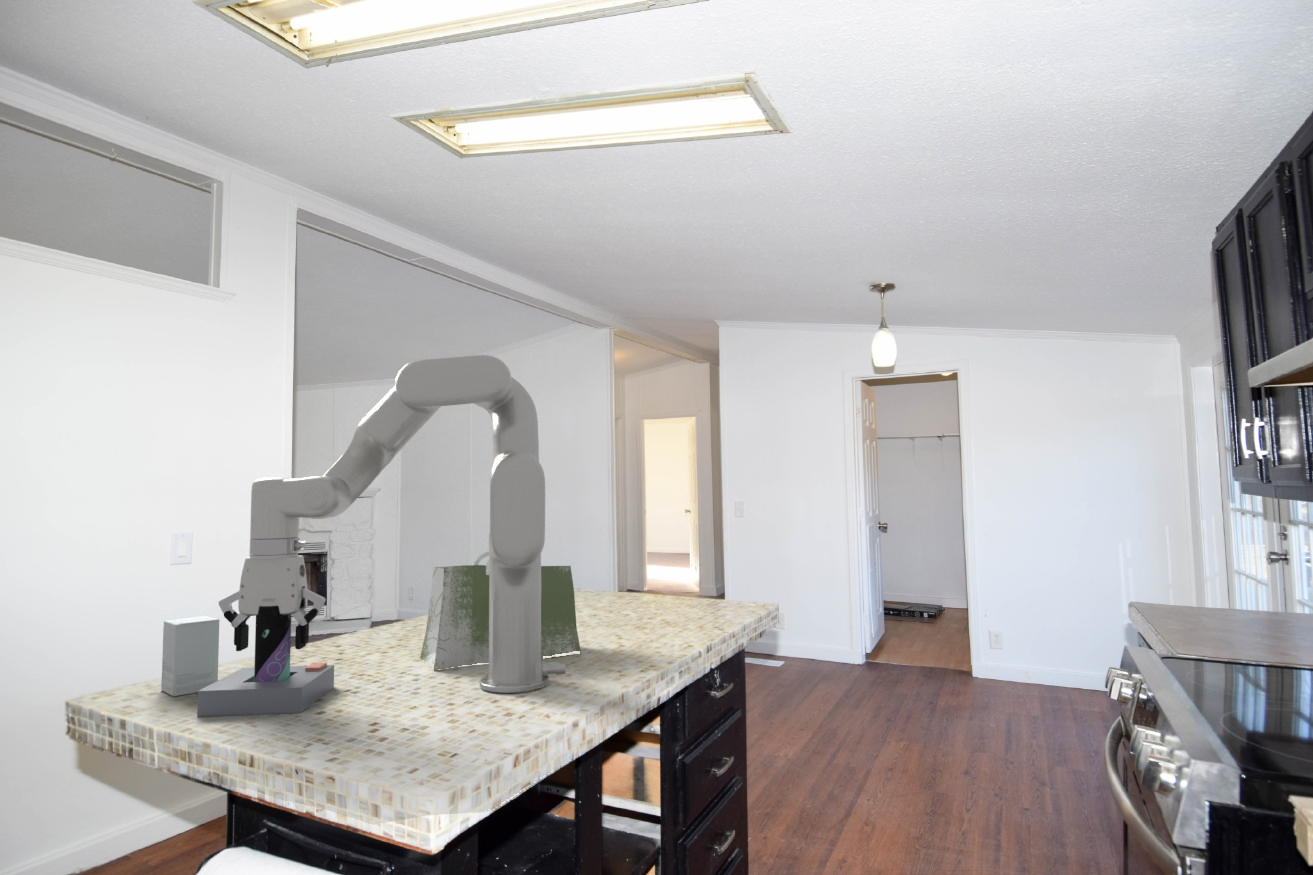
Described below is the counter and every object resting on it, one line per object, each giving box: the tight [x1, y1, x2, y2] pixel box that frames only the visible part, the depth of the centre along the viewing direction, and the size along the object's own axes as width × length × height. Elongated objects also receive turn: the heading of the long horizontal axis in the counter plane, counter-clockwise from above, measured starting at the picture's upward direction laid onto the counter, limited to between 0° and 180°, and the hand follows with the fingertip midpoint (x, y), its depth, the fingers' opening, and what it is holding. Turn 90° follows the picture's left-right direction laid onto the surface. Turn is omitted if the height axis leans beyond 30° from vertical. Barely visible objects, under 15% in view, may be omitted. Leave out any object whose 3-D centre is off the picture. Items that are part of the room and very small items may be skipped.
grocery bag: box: [419, 550, 582, 670], centre depth 162 cm, size 32×14×23 cm, turn 117°
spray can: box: [254, 599, 292, 682], centre depth 129 cm, size 6×6×20 cm
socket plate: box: [196, 661, 335, 717], centre depth 129 cm, size 16×16×5 cm
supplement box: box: [160, 615, 220, 697], centre depth 137 cm, size 7×7×13 cm
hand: (271, 648), depth 129 cm, fingers open, 9 cm apart
